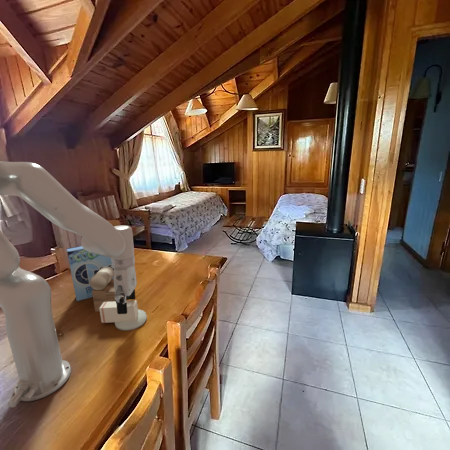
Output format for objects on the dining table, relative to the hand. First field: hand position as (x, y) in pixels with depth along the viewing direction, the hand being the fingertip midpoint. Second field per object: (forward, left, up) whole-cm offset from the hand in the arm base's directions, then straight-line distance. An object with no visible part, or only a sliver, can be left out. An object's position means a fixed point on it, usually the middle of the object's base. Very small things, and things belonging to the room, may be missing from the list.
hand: (127, 305), depth 91 cm
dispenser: (+13, +11, -7) cm, 18 cm away
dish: (+1, -1, -7) cm, 7 cm away
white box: (+1, +3, -6) cm, 6 cm away
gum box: (+23, +19, -7) cm, 31 cm away
